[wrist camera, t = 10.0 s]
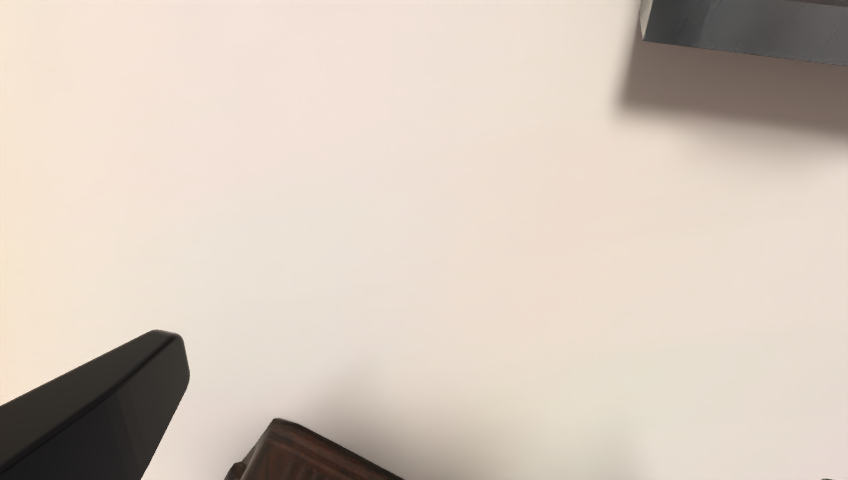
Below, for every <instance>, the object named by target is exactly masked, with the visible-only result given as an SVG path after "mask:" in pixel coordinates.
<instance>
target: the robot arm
mask: <svg viewBox="0 0 848 480" xmlns="http://www.w3.org/2000/svg"><path fill="white" fill-rule="evenodd" d="M189 379H190V371H189V366H188V361H187V356H186V351H185V346H184V341H183V339H182V337H181V336H180V335H179V334H176V333H172V332H167V331H163V330H152V331H149V332H147V333H145V334H143V335H141V336H139V337H137V338H135V339H133V340H131V341H129V342H127V343H125V344H123V345H121V346H119V347H117V348H115V349H113V350H111V351H109V352H107V353H105V354H103V355H101V356H99V357H97V358H95V359H93V360H91V361H89V362H87V363H85V364H83V365H81V366H79V367H77V368H75V369H73V370H71V371H69V372H67V373H65V374H63V375H61V376H59V377H57V378H55V379H53V380H51V381H49V382H47V383H45V384H43V385H41V386H39V387H37V388H35V389H33V390H31V391H29V392H27V393H25V394H23V395H21V396H19V397H17V398H15V399H13V400H11V401H9V402H7V403H5V404H3V405H1V406H0V480H141V478H142V476H143V474H144V472H145V471H146V469H147V467H148V465H149V463H150V461H151V459H152V457H153V455H154V453H155V451H156V449H157V447H158V445H159V443H160V441H161V439H162V437H163V435H164V433H165V431H166V429H167V427H168V425H169V423H170V421H171V419H172V417H173V415H174V413H175V411H176V409H177V407H178V405H179V403H180V401H181V399H182V397H183V395H184V393H185V391H186V389H187V386H188V383H189ZM822 480H832V479H822Z"/></svg>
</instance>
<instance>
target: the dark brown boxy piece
mask: <svg viewBox="0 0 848 480" xmlns="http://www.w3.org/2000/svg"><path fill="white" fill-rule="evenodd" d="M224 480H403V479H401V478H400V477H398V476H396V475H394V474H392V473H390V472H388V471H386V470H385V469H383V468H381V467H379V466H377V465H375V464H373V463H371V462H369V461H368V460H366V459H364V458H362V457H360V456H358V455H356V454H354V453H352V452H351V451H349V450H347V449H345V448H343V447H341V446H339V445H337V444H335V443H334V442H332V441H330V440H328V439H326V438H324V437H322V436H320V435H318V434H316V433H314V432H312V431H310V430H308V429H306V428H305V427H303V426H301V425H299V424H296V423H293V422H290V421H287V420H283V419H280V418H275V419H273V420H272V422H271V423H270V425H269V426H268V427H267V429H266V430H265V432H264V433H263V435H262V436H261V437H260V439H259V440H258V442H257V443H256V444H255V446H254V447H253V448H252V449H251V451H250V452H249V453H248V454H247V456H246V457H245V458H244V459H243V461H242V462H238V463H234V465H233V466H232V467H231V469H230V470H229V471H228V473H227V475H226V477H225V479H224Z"/></svg>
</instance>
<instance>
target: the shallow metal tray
mask: <svg viewBox="0 0 848 480" xmlns="http://www.w3.org/2000/svg"><path fill="white" fill-rule="evenodd" d="M639 18H640V25H641V31H642V37H643V41H649V42H657V43H665V44H673V45H681V46H689V47H697V48H705V49H713V50H721V51H729V52H737V53H745V54H753V55H761V56H769V57H777V58H785V59H793V60H801V61H809V62H817V63H825V64H833V65H842V66H848V0H642V4H641V8H640V12H639Z"/></svg>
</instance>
